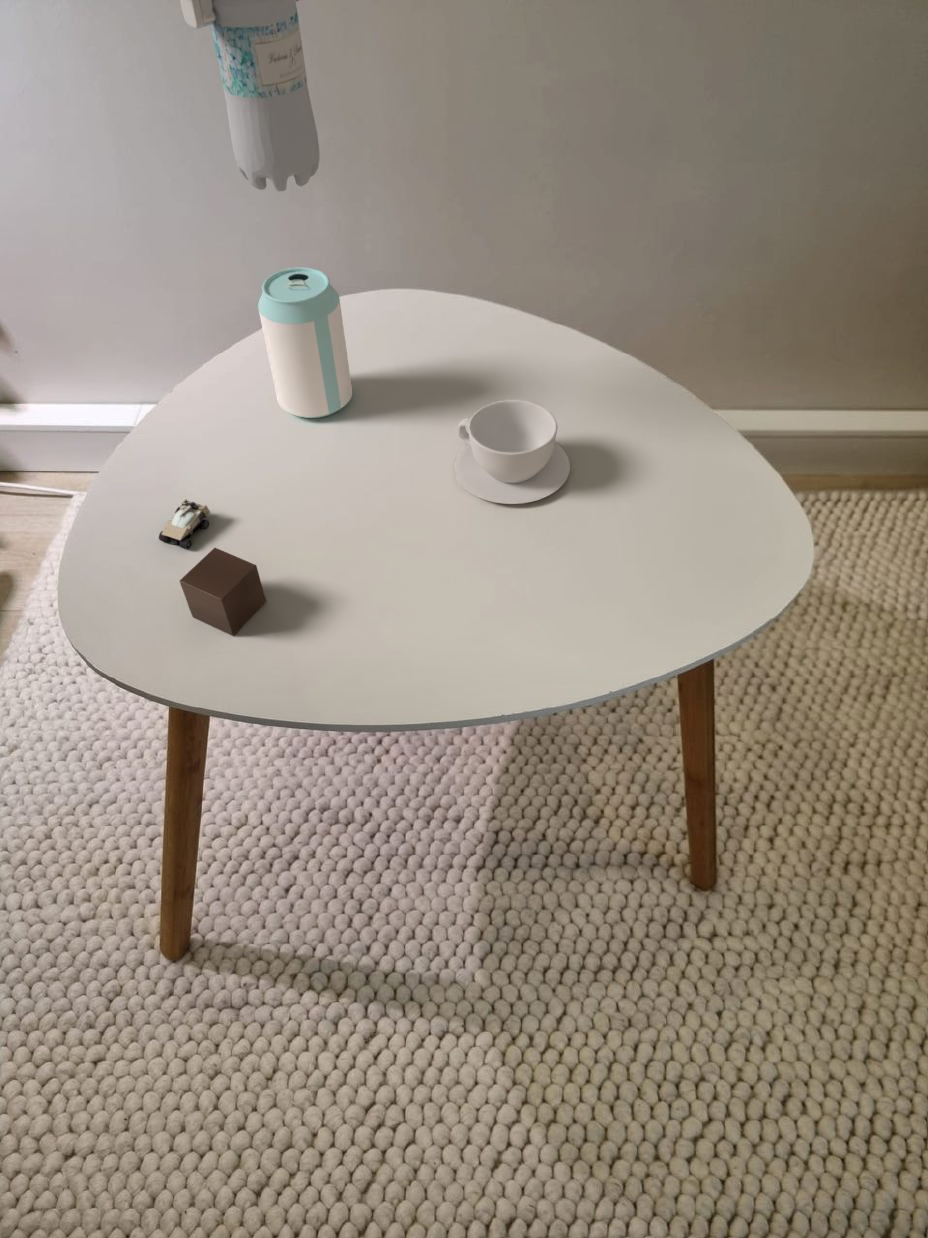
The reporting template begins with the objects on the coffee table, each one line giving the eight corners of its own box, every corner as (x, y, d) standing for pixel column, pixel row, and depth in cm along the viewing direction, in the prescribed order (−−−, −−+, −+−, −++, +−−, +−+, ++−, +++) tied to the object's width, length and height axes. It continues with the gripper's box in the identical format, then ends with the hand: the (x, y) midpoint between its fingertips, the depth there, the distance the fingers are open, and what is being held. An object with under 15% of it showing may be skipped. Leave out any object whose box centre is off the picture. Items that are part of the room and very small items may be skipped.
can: (265, 397, 91) (239, 280, 82) (328, 370, 93) (310, 254, 84) (302, 432, 87) (279, 314, 78) (367, 403, 89) (352, 285, 81)
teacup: (587, 452, 84) (590, 408, 80) (540, 521, 78) (542, 477, 74) (485, 423, 87) (484, 379, 83) (433, 487, 81) (430, 443, 78)
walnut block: (233, 636, 71) (221, 600, 68) (192, 617, 72) (178, 580, 69) (266, 601, 73) (256, 565, 70) (226, 583, 74) (214, 546, 71)
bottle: (281, 206, 69) (221, -141, 54) (218, 184, 72) (144, -152, 57) (343, 173, 73) (302, -162, 58) (281, 152, 75) (227, -172, 61)
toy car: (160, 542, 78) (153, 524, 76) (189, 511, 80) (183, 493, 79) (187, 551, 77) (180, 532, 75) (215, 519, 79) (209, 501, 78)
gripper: (325, -292, 60) (351, -32, 70) (10, -253, 51) (93, 35, 62) (385, -285, 56) (403, -14, 67) (59, -243, 48) (137, 60, 58)
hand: (252, 10), depth 64 cm, fingers closed on bottle, 6 cm apart
